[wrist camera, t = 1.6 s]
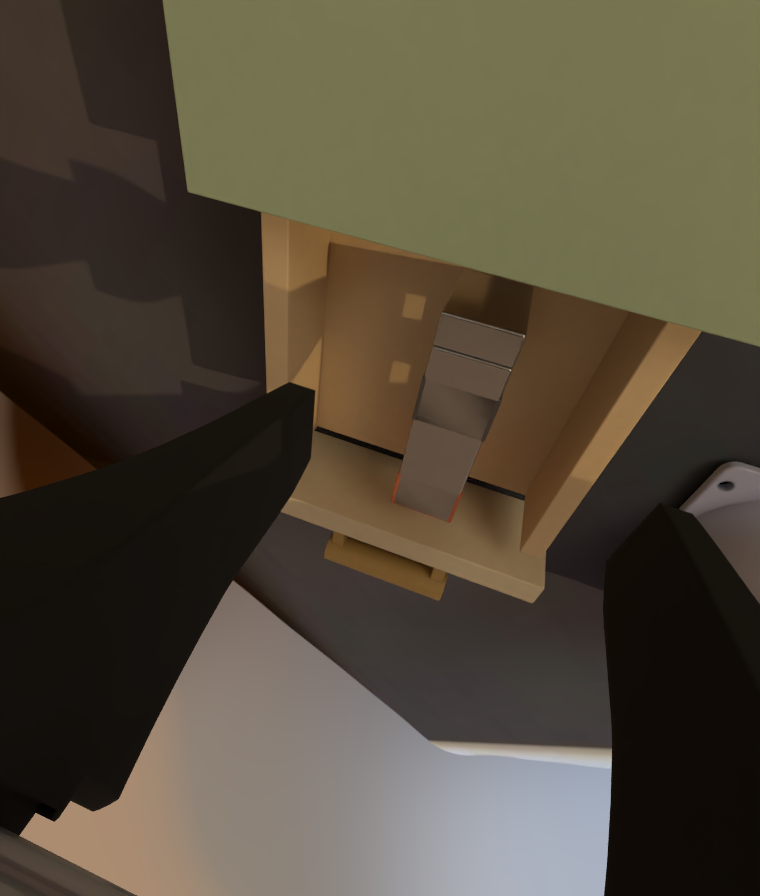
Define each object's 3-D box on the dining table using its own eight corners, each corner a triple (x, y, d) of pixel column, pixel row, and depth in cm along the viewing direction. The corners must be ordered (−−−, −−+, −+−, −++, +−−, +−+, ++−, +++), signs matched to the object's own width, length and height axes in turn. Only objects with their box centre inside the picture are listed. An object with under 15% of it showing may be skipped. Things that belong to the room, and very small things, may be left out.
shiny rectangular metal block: (465, 463, 18) (450, 523, 16) (413, 446, 19) (390, 503, 16) (536, 286, 13) (529, 335, 11) (462, 266, 14) (439, 310, 11)
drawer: (508, 571, 24) (499, 647, 21) (294, 494, 25) (256, 554, 22) (764, 172, 11) (841, 213, 8) (306, 71, 13) (221, 72, 10)
